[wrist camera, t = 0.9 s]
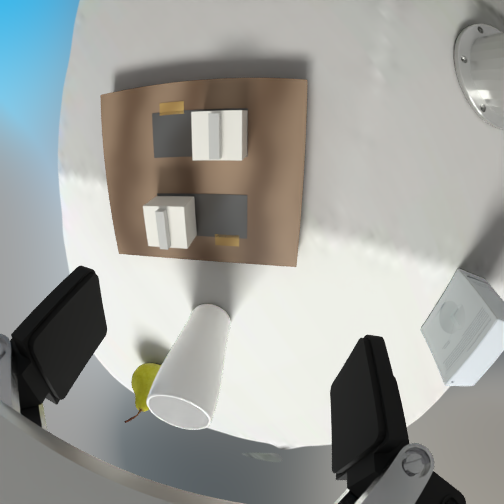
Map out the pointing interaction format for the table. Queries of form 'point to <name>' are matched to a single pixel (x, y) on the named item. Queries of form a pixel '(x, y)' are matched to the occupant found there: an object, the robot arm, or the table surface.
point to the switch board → (209, 167)
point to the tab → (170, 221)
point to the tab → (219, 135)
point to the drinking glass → (192, 371)
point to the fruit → (143, 384)
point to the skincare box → (465, 329)
